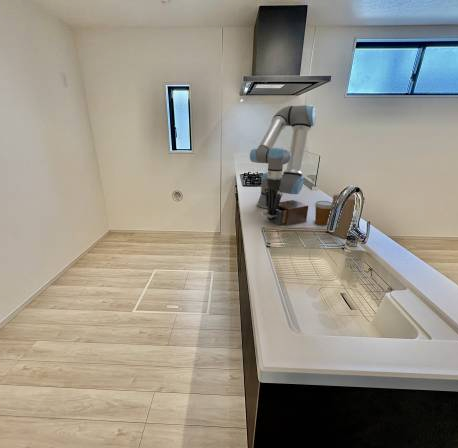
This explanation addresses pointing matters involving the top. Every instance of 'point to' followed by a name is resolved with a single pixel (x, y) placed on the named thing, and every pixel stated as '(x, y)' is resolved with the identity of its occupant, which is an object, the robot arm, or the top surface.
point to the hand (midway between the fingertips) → (270, 219)
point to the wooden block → (344, 216)
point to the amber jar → (322, 212)
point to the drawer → (278, 215)
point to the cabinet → (294, 212)
